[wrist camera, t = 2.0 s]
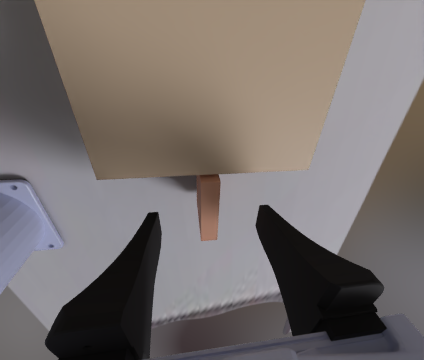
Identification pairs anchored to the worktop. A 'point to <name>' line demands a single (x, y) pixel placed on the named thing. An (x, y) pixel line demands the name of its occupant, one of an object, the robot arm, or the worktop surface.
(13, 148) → the worktop surface
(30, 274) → the worktop surface
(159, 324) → the worktop surface
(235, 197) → the worktop surface
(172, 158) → the sleeve
